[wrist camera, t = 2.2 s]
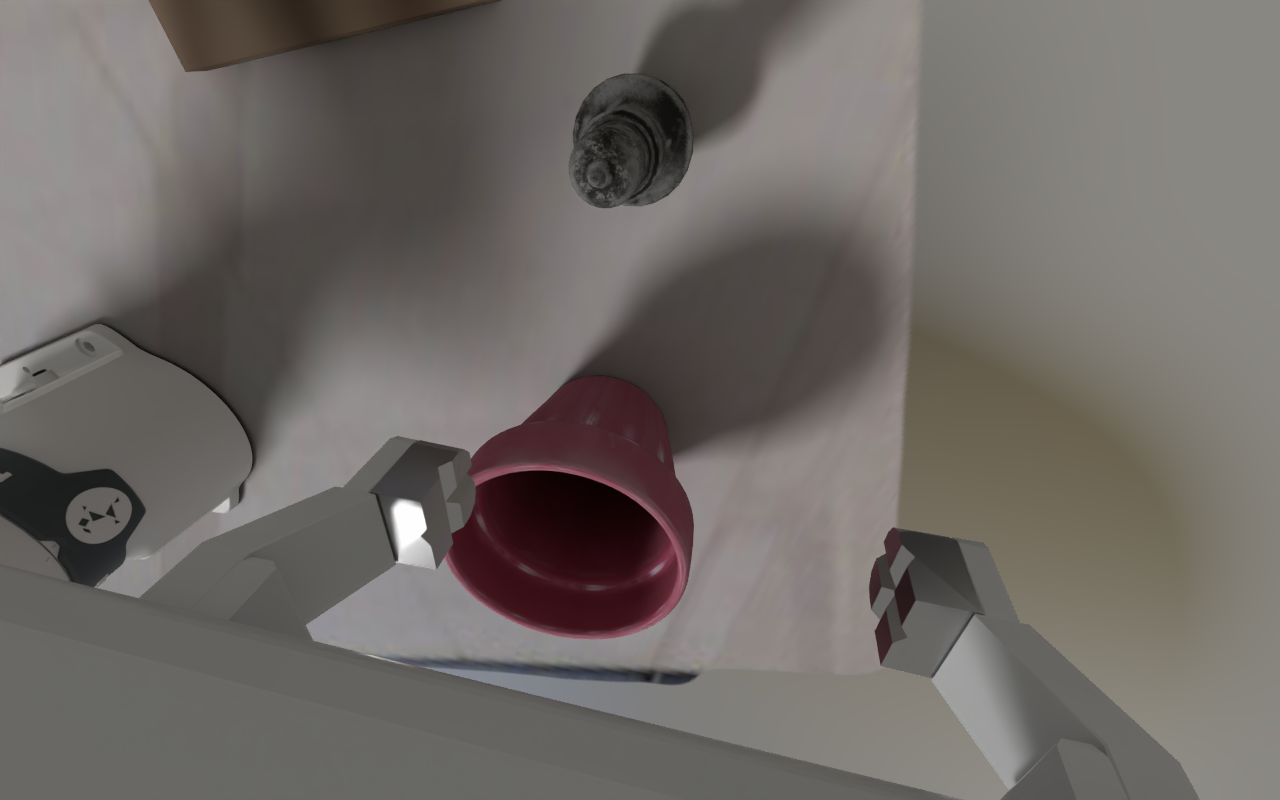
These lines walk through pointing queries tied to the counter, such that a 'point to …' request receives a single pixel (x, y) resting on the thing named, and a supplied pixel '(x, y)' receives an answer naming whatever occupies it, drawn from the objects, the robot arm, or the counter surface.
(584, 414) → the plant pot
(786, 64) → the counter surface
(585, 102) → the dark grey tall piece
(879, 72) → the counter surface
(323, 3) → the socket holder
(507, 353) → the counter surface
